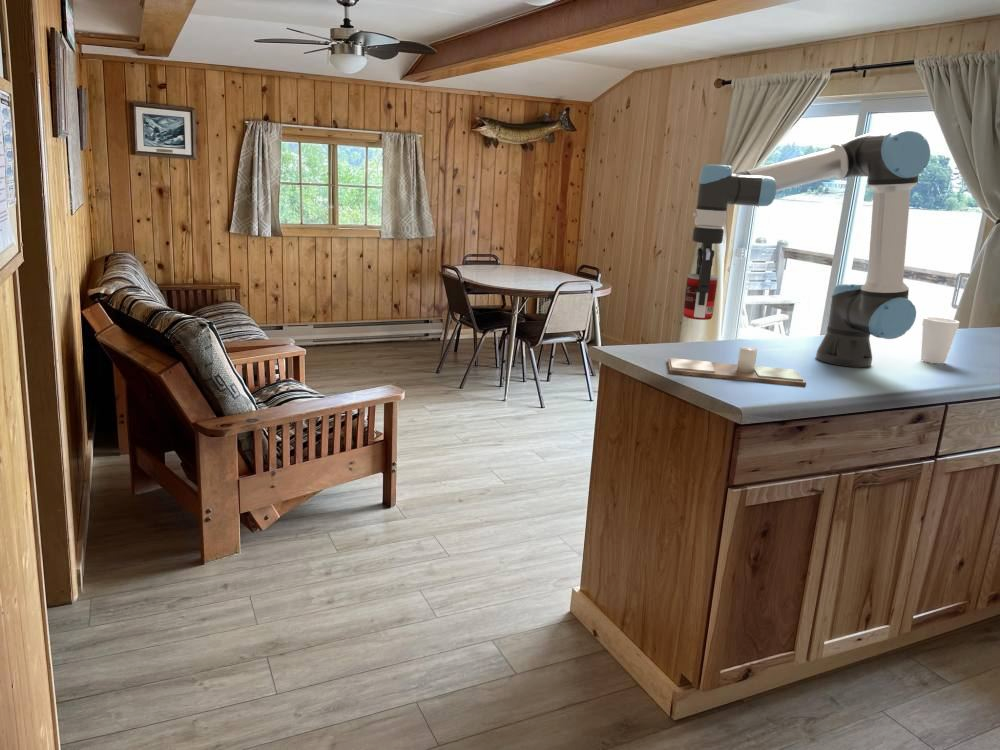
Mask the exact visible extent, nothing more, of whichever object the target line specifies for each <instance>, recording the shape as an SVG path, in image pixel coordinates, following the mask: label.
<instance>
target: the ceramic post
mask: <svg viewBox="0 0 1000 750" xmlns="http://www.w3.org/2000/svg"><path fill="white" fill-rule="evenodd" d="M738 353H739V354H738V360H737V361H738V362H737V364H738V366H737V371H740V372H744V373H754V370H755V366H756V364H757V363H756V361H757V355H758V349H757V348H754V347H750V346H749V347H748V346H742V347H739V352H738Z"/></svg>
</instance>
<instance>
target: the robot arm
mask: <svg viewBox="0 0 1000 750" xmlns="http://www.w3.org/2000/svg"><path fill="white" fill-rule="evenodd" d="M930 158H931V148H930V145H929V142H928V140H927V138H925V137H924V136H923V135H922V133H920V132H918V131H916V130H912V129H900V128H899V129H895V130H885V131H872V132H868V133H865V134H862V135H859V136H856V137H853V138H851V139H847V140H844V141H841V142H838V143H834V144H831V146H829V149H826V150H822V151H817V152H814V153H810V154H806V155H802V156H799V157H794V158H790V159H786V160H783V161H778V162H774V163H771V164H766V165H763V166H759V167H756V168H755V167H754V168H751V169H748V170H744V171H739V172H736V173H733V168H732V165H725V164H705V165H703V166H702V168H701V170H700V174H699V181H698V191H697V200H696V208H695V209H696V212H693V214H692V216H693V217H695V218H694V225H696V226H695V227H694V228H693V233H692V241H693V242H695V243H698V244H699V243H700V244H701V245H700V247H698V248H697V253H696V255H697V259H696V270H695V274H699V284H698V289H695V292H697V295H696V303H695V311H694V317H698V318H705V312H706V304H707V296H708V291H709V290H710V288H709V286H710V277H711V275H712V266H713V260H714V256H715V250H714V249H713V245H719V244H722V243H723V240H724V239H723V238H724V232H725V230H724V229H723V227H725V225H726V220H727V219H726V218H727V209H728V208H727V207H728V205H735V206H737V205H738V206H751V207H753V206H755V207H768V206H770V205H771V204H773V202H774V201H775V199H776V195H777V192H780V191H783V190H788V189H791V188H795V187H799V186H803V185H807V184H810V183H811V184H812V183H815V182H819V181H823V180H827V179H831V178H834V179H836V180H843V179H846V178H853V177H855V178H858V177H867V186H868V188H870V190H872V192H873V198H872V211H871V213H872V214H871V225H870V228H871V229H870V240H869V241H870V242H869V252H868V253H869V254H868V255H869V256H868V267H867V269H868V270H867V281H866V283H864V284H858V283H857V284H856V283H855V284H854V283H853V284H849V283H838V284H837V285H835V286H834V289H833V291H832V296H831V302H830V303H831V304H830V310H829V314H828V321H827V327H826V333H825V334H824V337H823V339H822V340H821V343H820V344H819V346H818V348H817V350H816V354H815V359H817V360H819V361H820V362H823V363H827V364H830V365H834V366H842V367H851V368H853V367H854V368H867V366H868V367H871V366H872V362H873V353H872V348H871V341H870V337H871V335H872V336H873V337H875V338H878V339H885V340H894V339H898V338H900V337H902V336H903V335H905V334H906V333H907V331H908V332H909V331H910V330H911V328H912V327H913V325H914V324H915V321H916V317H917V309H916V306H915V305H914V304H913V302H912V300H910V299H909V293H910V292H909V290H910V289H909V288H910V287H908V286H907V284H906V283H905V282H904V275H905V263H906V262H905V261H906V251H907V250H906V248H907V239H908V238H907V236H908V226H909V225H908V224H909V211H910V201H911V199H910V198H911V191H912V189H913V188H914V187H915V186H917V185H918V183H919V175H920V174H922V173H923V172H924V171H925V168H927V166H929V165H928V164H929V163H930V160H931V159H930Z"/></svg>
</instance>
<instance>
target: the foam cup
mask: <svg viewBox="0 0 1000 750" xmlns="http://www.w3.org/2000/svg"><path fill="white" fill-rule="evenodd" d="M959 325H960V321H959V320H956V319H952V318H945V317H938V316H924V317H923V318H922V325H921V326H922V331H921V332H922V335H921V353H920V354H921V355H920V358H921V359H920V360H921V361H922V360H923V361H922V362H924V361H925V363H927V362H930V363H929V364H933V363H944V362H946V360H947V358H948V354H949V352H950V350H951V348H952V347H951V346H952V344H953V341H954V339H955V336H956V334H957V331H958V330H959ZM944 364H945V363H944Z"/></svg>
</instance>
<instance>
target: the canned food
mask: <svg viewBox="0 0 1000 750" xmlns="http://www.w3.org/2000/svg"><path fill="white" fill-rule="evenodd" d="M698 284H699V274H696V273H689V274H687V279H686V285H685V287H686V288H685V294H684V304H683V313H682V315H683V317H684V318H687V319H692V320H699V321H701V320H702V321H706V320H707V321H708V320H711V319H712V318H713V315H714V310H715V309H714V308H715V301H716V295H717V288H718V276H716V275H712V274H711V277H710V286H709V288H710V290H709V291H708V296H707V304H706V312H705V318H698V317H694V311H695V303H696V295H697V292H695V289H698Z"/></svg>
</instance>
